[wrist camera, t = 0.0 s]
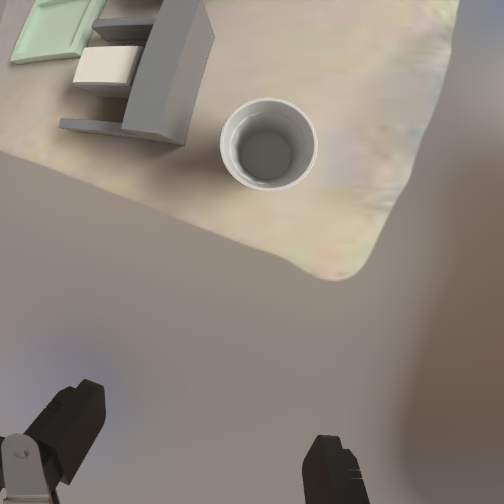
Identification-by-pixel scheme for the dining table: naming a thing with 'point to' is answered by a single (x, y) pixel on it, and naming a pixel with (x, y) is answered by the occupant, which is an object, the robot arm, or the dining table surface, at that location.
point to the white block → (108, 70)
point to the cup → (268, 144)
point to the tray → (56, 30)
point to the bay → (159, 72)
